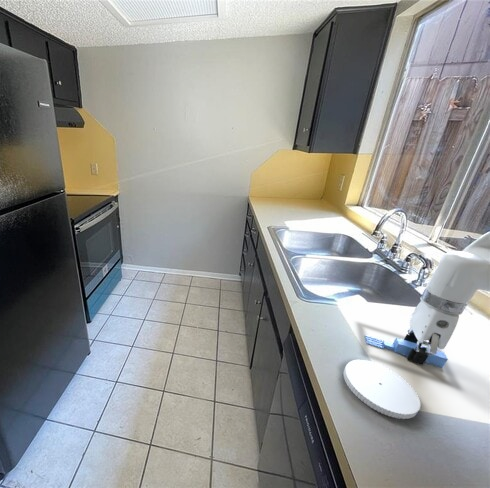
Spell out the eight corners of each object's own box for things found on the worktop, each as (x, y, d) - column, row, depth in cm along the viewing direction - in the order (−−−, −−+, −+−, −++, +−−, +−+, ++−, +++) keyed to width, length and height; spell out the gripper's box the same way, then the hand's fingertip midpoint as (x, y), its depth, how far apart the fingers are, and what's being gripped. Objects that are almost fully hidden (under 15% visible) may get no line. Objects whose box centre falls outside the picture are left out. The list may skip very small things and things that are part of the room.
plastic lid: (402, 379, 64) (406, 372, 63) (427, 434, 52) (433, 426, 51) (338, 359, 69) (341, 352, 68) (347, 404, 58) (351, 397, 57)
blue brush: (436, 360, 70) (443, 351, 68) (441, 370, 67) (448, 360, 65) (364, 337, 77) (368, 327, 75) (365, 345, 74) (370, 335, 72)
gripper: (481, 326, 55) (440, 385, 62) (449, 288, 68) (419, 340, 76) (435, 314, 58) (401, 371, 65) (413, 280, 72) (387, 330, 79)
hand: (411, 354), depth 71 cm, fingers open, 5 cm apart
